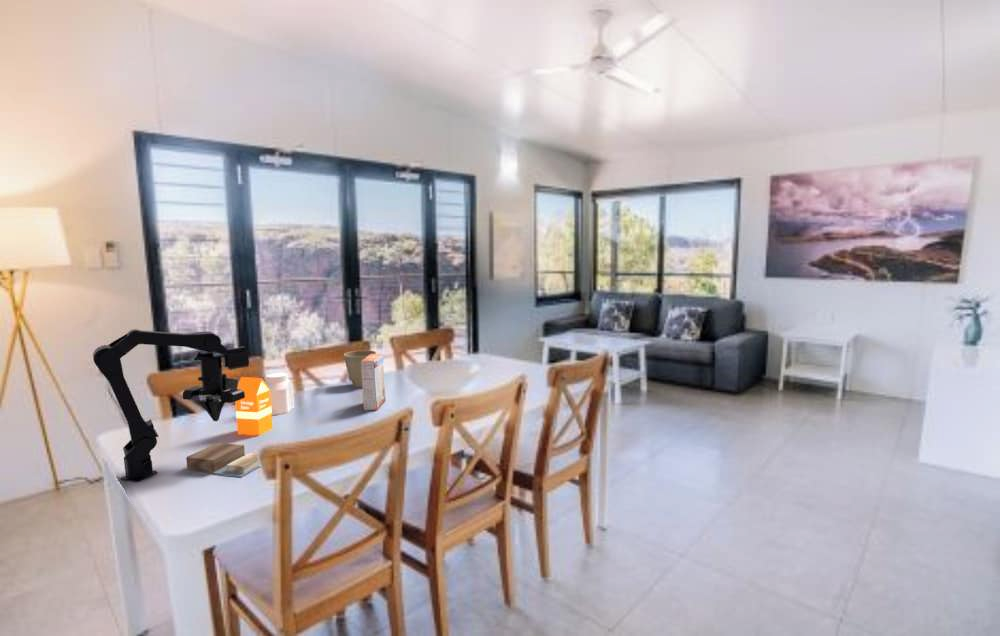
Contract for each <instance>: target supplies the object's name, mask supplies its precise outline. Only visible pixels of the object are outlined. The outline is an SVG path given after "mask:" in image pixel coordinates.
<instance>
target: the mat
mask: <svg viewBox="0 0 1000 636" xmlns="http://www.w3.org/2000/svg"><path fill="white" fill-rule="evenodd" d="M260 468H261V467H260V466H259V465H258V466H256V467H255V468H253V469H251V470H249V471H247V472H246V473H237V472H229V471H227V466H225V467H223V468H222V469H220V470H218V471H216V472H214V473H212V474H213V475H218V476H225V477H234V478H244V477H245V476H247V475H250V473H253V472H254V471H256V470H257V469H260Z"/></svg>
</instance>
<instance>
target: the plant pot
mask: <svg viewBox="0 0 1000 636" xmlns="http://www.w3.org/2000/svg"><path fill="white" fill-rule="evenodd" d="M370 354H377V352H376V351H374V350H366V349H365V350H364V349H363V350H353V351H347V352H345V353H344V354H343V357H344V358H343V359H344V362H345V367H346V370H347V374H348V376H349V378H350V381H351V383H352V385H353V387H354V388H359V389H360V388H362V373H361V361H362V360H363V359H365V358H366V357H367V356H369V355H370Z"/></svg>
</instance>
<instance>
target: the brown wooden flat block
mask: <svg viewBox="0 0 1000 636" xmlns="http://www.w3.org/2000/svg"><path fill="white" fill-rule="evenodd" d="M245 455H246V454H245V445H243V444H235V443H226V442H216V443H213V444H211V445H210V446H207V447H206V448H203V449H200V450H199V451H197V452H196V451H195V452H194V453H192V454H190V455H188V456H186V457H185V459H186V470H187V471H193V472H202V473H208V474H209V473H210V474H213V473H214V472H216V471H218V470H220V469H222V468H223V467H225V466H227V464H229V463H231V462H233V461H235V460H237V459H239V458H241V457H243V456H245Z"/></svg>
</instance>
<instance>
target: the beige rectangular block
mask: <svg viewBox="0 0 1000 636" xmlns="http://www.w3.org/2000/svg"><path fill="white" fill-rule="evenodd" d="M258 454H259V453H250V452H249V453H246V454H245V456H243V457H241V458H239V459H237V460H235V461H233V462H231V463H229V464H227V471H229V472H237V473H246V472H247V471H249V470H251V469H253V468H255V467H256V466H258V465H259V462H258V457H257V455H258Z"/></svg>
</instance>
